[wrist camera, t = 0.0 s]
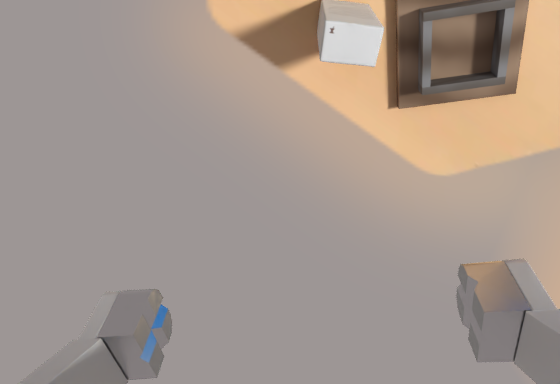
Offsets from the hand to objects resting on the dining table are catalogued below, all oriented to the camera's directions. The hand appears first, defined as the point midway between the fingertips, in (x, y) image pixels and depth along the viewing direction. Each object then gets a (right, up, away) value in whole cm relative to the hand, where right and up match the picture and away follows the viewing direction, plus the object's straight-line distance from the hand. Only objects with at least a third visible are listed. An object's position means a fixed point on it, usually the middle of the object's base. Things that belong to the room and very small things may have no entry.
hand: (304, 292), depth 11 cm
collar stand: (+22, +22, +42) cm, 52 cm away
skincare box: (+7, +24, +41) cm, 48 cm away
